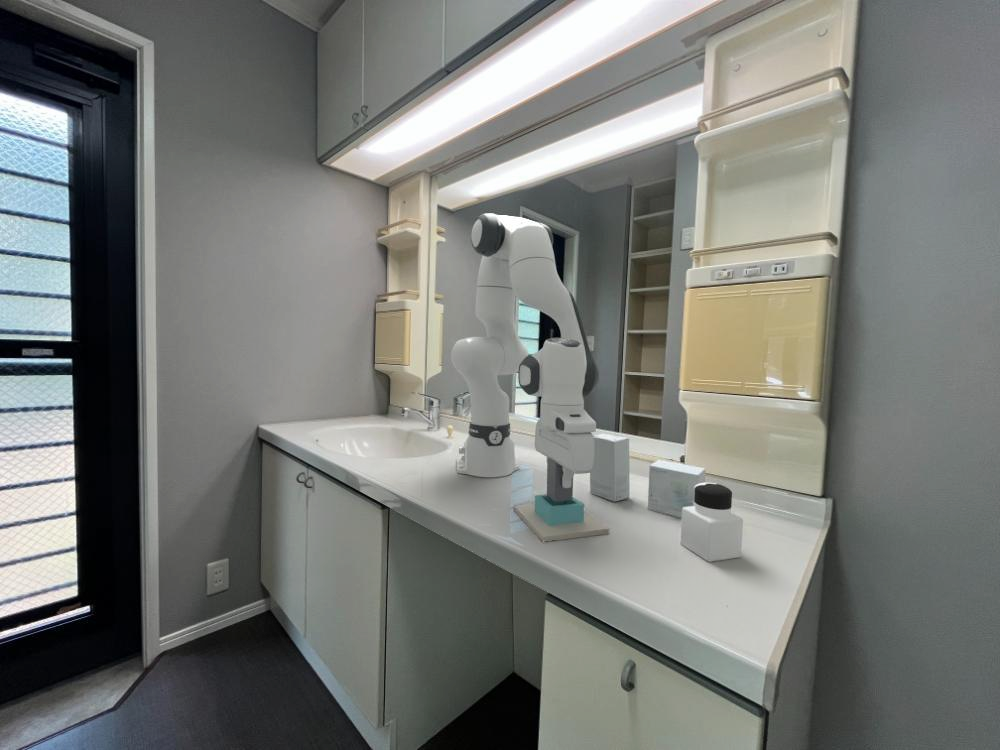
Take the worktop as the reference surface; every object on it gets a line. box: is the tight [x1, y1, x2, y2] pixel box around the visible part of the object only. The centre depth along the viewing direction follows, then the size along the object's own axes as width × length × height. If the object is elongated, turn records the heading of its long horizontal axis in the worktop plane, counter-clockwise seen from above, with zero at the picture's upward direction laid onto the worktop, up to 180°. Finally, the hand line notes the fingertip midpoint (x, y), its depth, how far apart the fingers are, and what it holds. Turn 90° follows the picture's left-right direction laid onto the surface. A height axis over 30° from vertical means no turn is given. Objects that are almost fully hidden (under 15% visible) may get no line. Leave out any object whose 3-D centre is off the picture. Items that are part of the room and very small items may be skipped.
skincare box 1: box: [589, 433, 631, 503], centre depth 102 cm, size 8×6×15 cm
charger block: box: [546, 457, 574, 502], centre depth 86 cm, size 4×4×10 cm
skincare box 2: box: [647, 459, 706, 519], centre depth 93 cm, size 10×6×10 cm, turn 50°
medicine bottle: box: [680, 482, 744, 563], centre depth 75 cm, size 7×7×12 cm
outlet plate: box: [513, 493, 610, 542], centre depth 87 cm, size 16×14×4 cm
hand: (559, 482), depth 86 cm, fingers closed on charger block, 4 cm apart
